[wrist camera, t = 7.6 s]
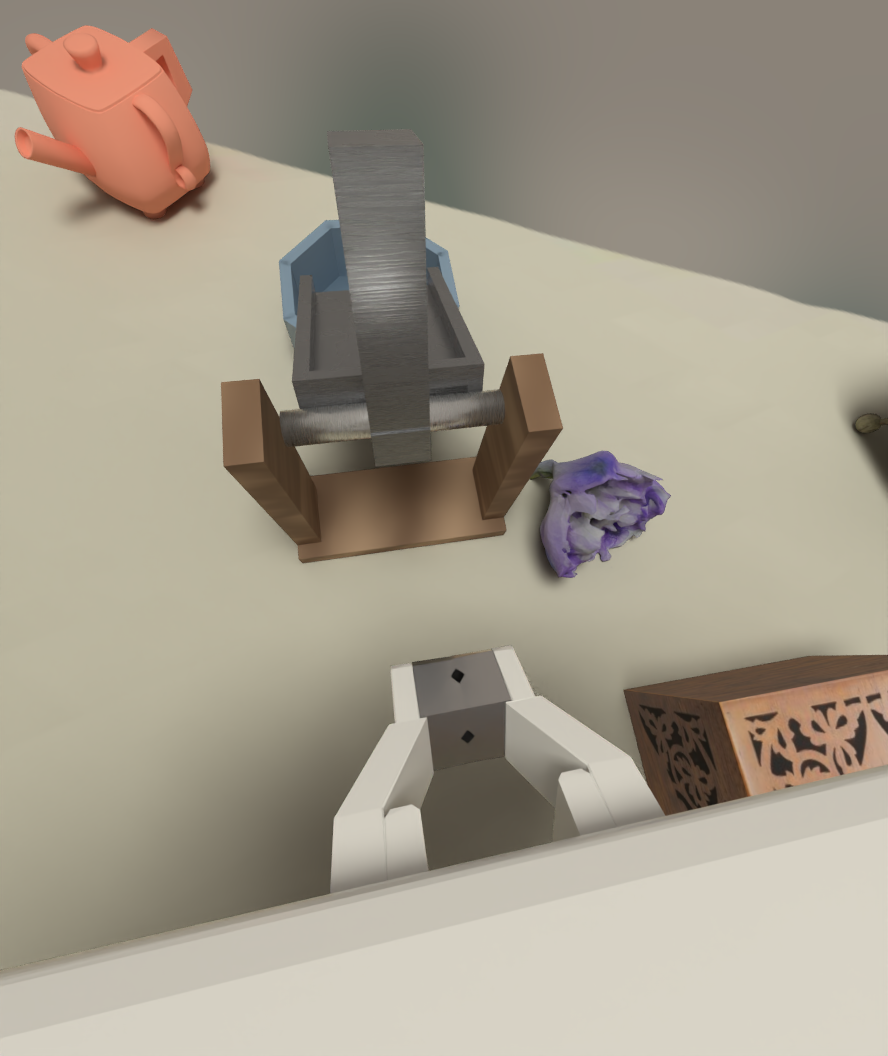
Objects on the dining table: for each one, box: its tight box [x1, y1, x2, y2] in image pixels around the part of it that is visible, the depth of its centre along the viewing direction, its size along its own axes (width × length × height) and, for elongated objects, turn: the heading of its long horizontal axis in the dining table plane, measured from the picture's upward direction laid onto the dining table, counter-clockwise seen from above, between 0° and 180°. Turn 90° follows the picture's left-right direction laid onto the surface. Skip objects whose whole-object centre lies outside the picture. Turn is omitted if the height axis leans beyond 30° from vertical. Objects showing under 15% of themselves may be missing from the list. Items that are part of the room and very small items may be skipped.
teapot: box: [15, 26, 210, 219], centre depth 35 cm, size 12×12×10 cm
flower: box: [530, 451, 671, 578], centre depth 30 cm, size 9×9×10 cm
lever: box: [280, 129, 505, 467], centre depth 20 cm, size 10×15×11 cm, turn 9°
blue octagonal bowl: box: [279, 220, 459, 349], centre depth 35 cm, size 13×13×5 cm
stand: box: [221, 353, 563, 563], centre depth 26 cm, size 15×6×14 cm, turn 99°
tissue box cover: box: [624, 655, 888, 816], centre depth 23 cm, size 26×14×10 cm, turn 9°
